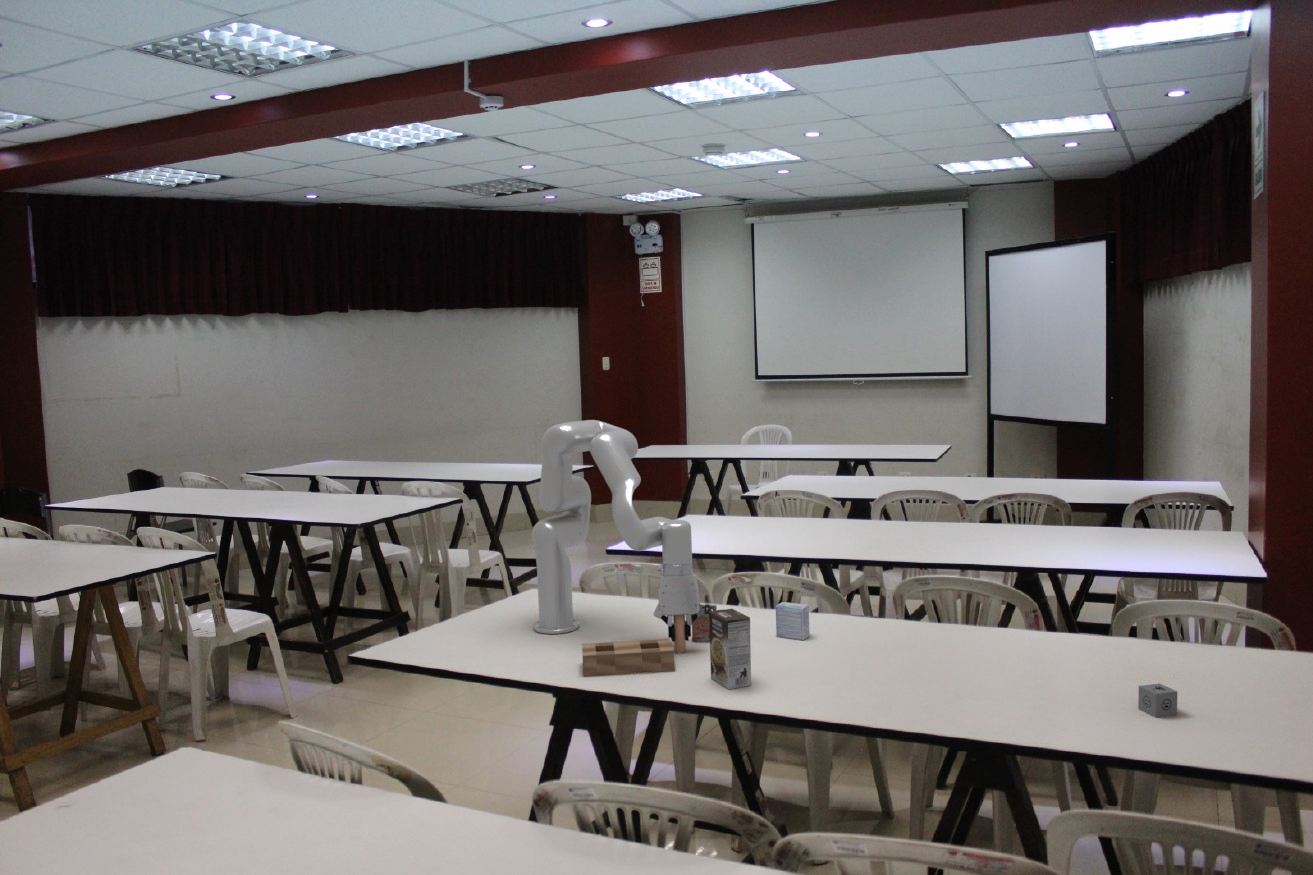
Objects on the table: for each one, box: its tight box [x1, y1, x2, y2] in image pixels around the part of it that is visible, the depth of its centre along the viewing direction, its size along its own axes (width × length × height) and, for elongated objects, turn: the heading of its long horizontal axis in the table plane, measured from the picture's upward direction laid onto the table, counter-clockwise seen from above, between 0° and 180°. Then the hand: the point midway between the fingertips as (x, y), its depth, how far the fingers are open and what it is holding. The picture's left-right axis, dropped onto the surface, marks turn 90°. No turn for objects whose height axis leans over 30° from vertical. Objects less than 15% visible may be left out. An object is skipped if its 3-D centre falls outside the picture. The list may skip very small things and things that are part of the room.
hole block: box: [581, 638, 676, 677], centre depth 239 cm, size 10×22×5 cm, turn 95°
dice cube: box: [1137, 683, 1178, 718], centre depth 199 cm, size 5×5×5 cm
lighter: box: [691, 602, 718, 644], centre depth 258 cm, size 8×3×10 cm, turn 84°
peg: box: [673, 615, 687, 654], centre depth 249 cm, size 3×3×10 cm
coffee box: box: [709, 608, 752, 690], centre depth 225 cm, size 9×6×16 cm
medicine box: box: [775, 601, 811, 641], centre depth 259 cm, size 8×4×9 cm, turn 58°
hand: (679, 639), depth 250 cm, fingers closed on peg, 3 cm apart
